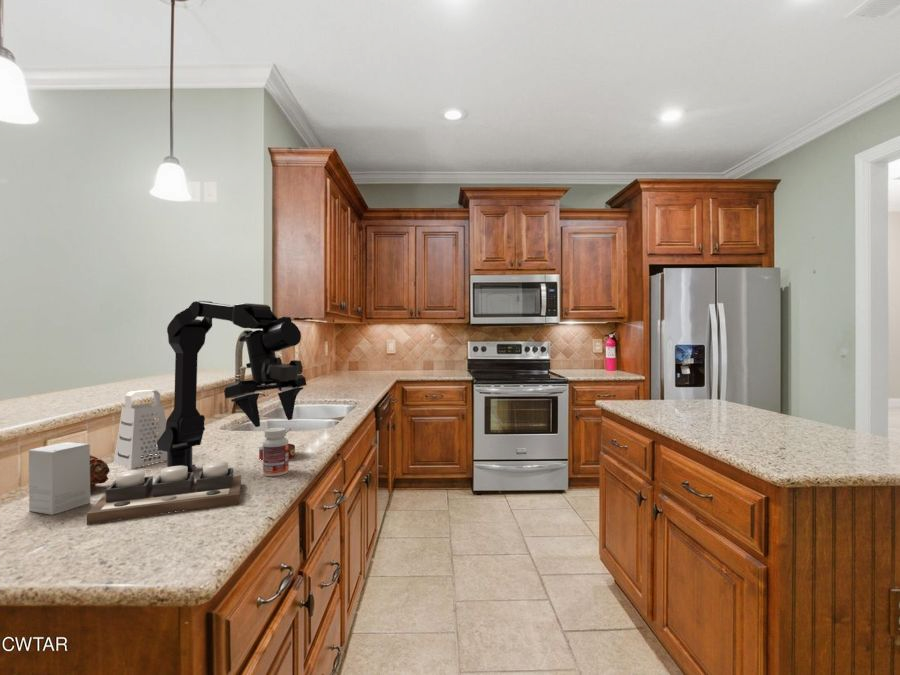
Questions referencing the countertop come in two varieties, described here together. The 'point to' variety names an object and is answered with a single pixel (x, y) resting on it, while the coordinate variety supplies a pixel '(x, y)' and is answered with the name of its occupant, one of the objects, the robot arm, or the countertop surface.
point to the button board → (165, 497)
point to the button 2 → (215, 469)
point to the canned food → (290, 450)
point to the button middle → (174, 474)
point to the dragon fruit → (97, 471)
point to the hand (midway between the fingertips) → (274, 423)
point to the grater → (140, 432)
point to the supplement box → (59, 477)
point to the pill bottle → (275, 452)
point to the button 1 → (130, 478)
